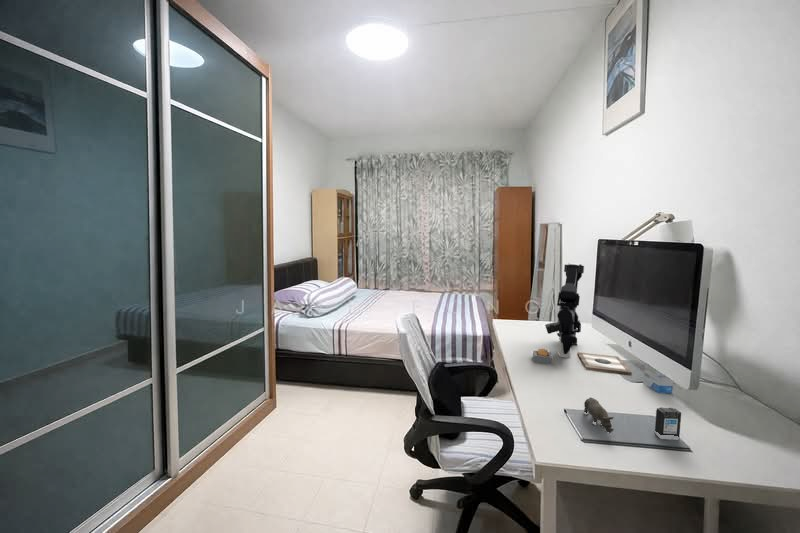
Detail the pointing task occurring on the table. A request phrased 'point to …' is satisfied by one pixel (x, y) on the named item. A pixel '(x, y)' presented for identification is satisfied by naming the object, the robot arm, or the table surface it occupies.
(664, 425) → the ink cartridge
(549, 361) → the button housing
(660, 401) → the table surface
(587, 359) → the wooden picture frame
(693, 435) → the table surface
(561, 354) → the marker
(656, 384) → the ink box
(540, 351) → the button
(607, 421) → the grey animal figure
